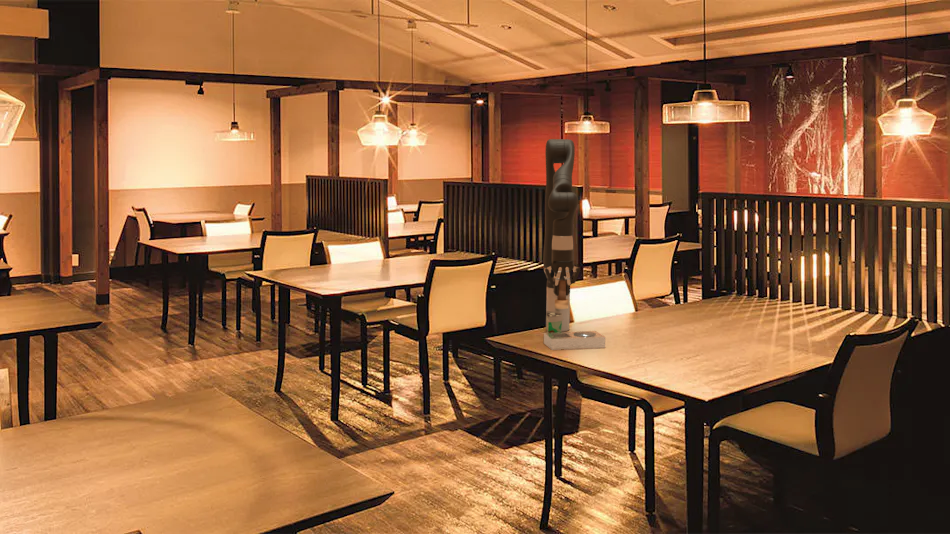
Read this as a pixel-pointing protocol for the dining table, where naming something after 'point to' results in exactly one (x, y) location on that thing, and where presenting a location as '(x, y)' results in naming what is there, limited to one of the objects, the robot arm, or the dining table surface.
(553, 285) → the robot arm
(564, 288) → the brown wooden peg
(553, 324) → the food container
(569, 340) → the bore block
